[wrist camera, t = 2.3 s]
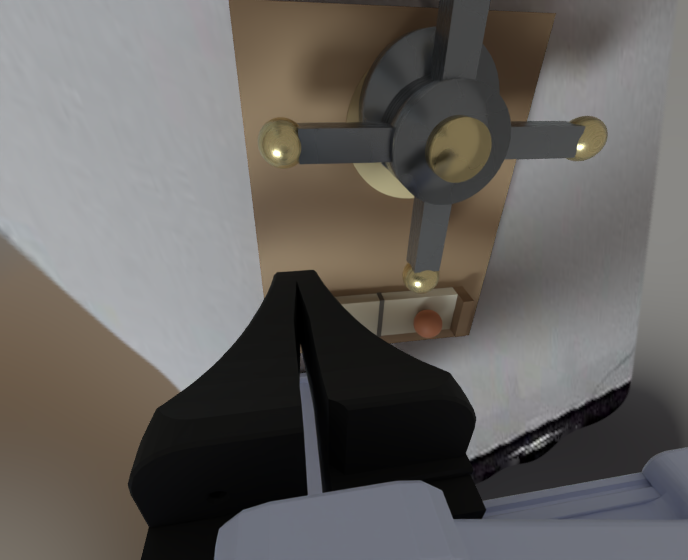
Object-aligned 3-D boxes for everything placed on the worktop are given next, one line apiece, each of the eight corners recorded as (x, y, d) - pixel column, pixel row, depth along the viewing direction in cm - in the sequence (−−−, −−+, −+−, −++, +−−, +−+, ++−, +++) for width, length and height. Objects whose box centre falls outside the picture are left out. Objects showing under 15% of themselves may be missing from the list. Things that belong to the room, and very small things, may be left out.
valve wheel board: (458, 319, 24) (486, 360, 20) (270, 338, 22) (271, 385, 19) (532, 16, 15) (599, 8, 12) (232, 3, 13) (220, -11, 10)
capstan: (519, 257, 19) (569, 299, 16) (273, 275, 17) (274, 326, 14) (626, -75, 12) (750, -117, 9) (235, -110, 10) (220, -180, 7)
